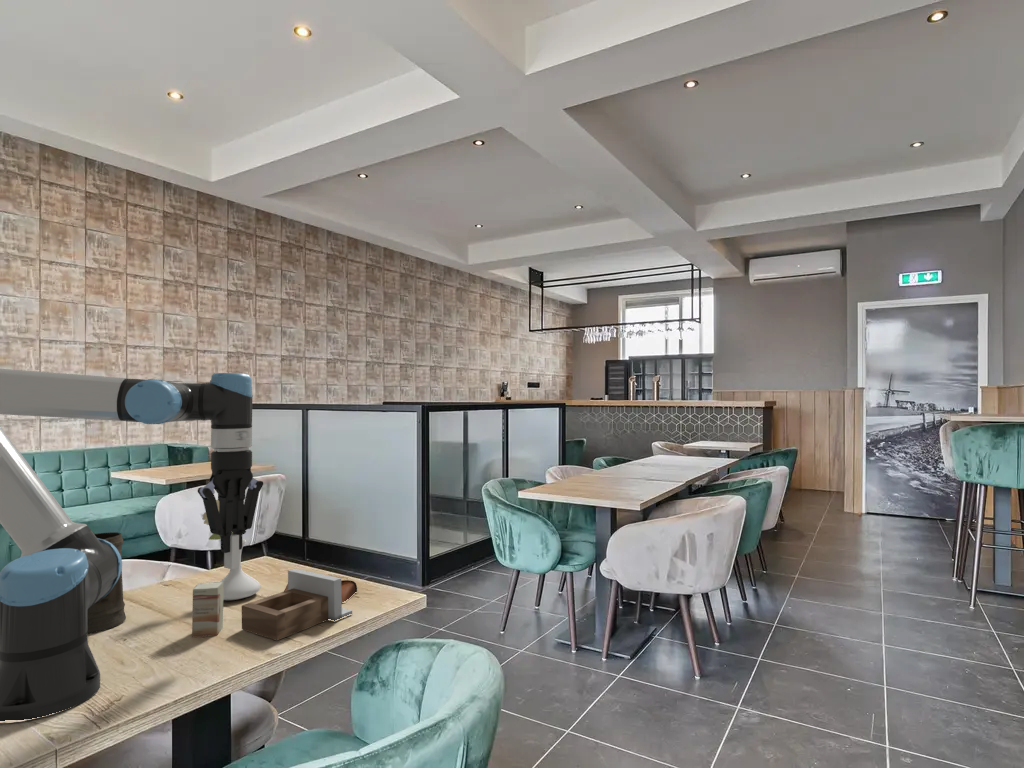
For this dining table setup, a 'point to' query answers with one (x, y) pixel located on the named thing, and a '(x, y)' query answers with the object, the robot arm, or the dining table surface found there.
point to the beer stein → (108, 597)
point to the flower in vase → (236, 576)
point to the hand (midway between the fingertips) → (231, 567)
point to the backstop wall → (320, 589)
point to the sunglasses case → (344, 589)
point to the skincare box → (207, 609)
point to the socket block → (284, 613)
